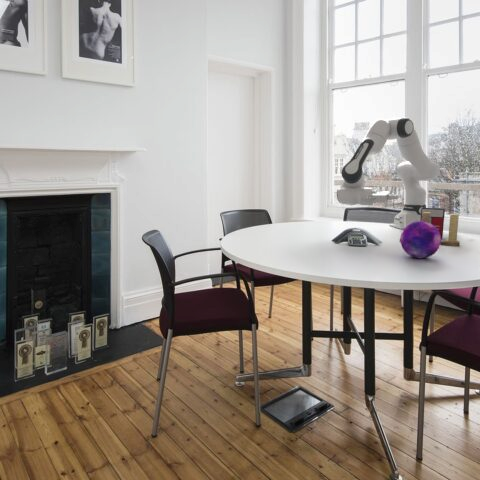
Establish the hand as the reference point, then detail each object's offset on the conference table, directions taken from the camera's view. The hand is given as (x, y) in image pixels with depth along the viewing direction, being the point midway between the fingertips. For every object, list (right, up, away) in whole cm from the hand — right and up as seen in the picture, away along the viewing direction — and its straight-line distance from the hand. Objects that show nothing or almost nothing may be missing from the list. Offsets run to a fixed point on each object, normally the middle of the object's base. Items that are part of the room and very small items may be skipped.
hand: (398, 197), depth 216 cm
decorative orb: (-5, -29, -38) cm, 48 cm away
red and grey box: (+22, -20, +13) cm, 32 cm away
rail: (+13, -23, -4) cm, 27 cm away
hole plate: (+21, -21, +2) cm, 30 cm away
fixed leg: (+22, -22, -9) cm, 32 cm away
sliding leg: (+11, -21, -4) cm, 24 cm away
